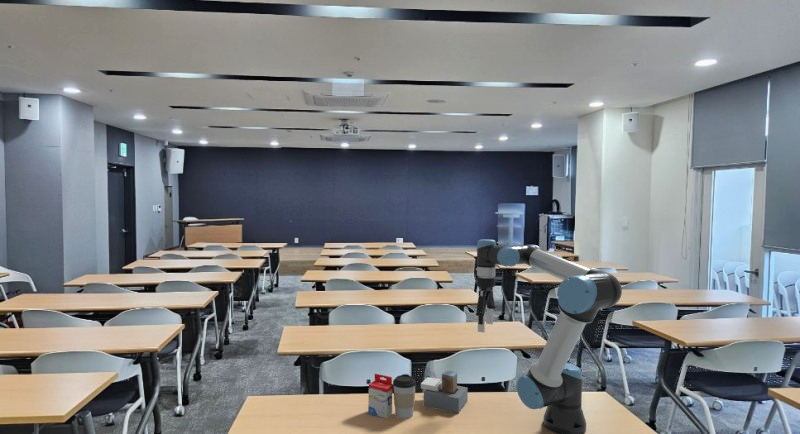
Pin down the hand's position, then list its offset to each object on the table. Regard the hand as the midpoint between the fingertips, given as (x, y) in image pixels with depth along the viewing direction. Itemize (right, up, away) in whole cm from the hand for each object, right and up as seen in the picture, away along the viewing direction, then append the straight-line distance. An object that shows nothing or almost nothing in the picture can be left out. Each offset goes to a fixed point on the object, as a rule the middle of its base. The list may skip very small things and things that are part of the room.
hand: (485, 327), depth 191 cm
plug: (-15, -31, 0) cm, 34 cm away
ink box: (-43, -32, -9) cm, 55 cm away
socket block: (-16, -32, 0) cm, 36 cm away
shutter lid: (-22, -25, +3) cm, 33 cm away
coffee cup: (-34, -32, -10) cm, 48 cm away
